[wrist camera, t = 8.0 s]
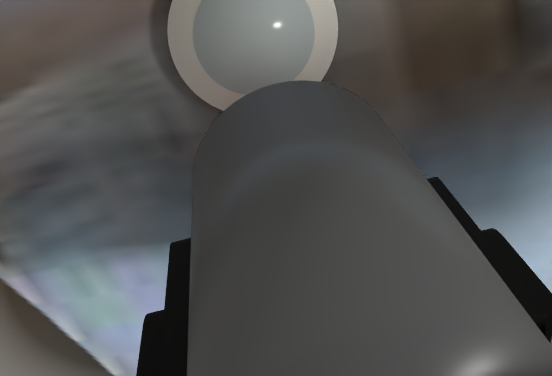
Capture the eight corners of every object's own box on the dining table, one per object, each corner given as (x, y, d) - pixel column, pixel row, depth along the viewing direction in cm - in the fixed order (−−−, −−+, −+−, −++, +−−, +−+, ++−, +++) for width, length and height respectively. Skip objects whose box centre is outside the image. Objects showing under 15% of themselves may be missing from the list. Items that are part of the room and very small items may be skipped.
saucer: (320, -79, 26) (323, -78, 25) (345, 90, 31) (349, 95, 30) (144, -35, 26) (142, -33, 25) (196, 126, 31) (196, 133, 30)
